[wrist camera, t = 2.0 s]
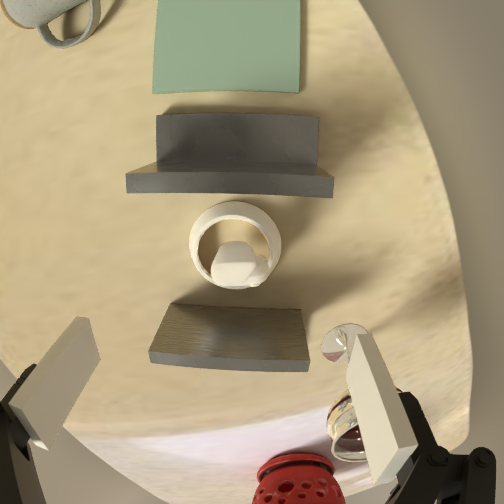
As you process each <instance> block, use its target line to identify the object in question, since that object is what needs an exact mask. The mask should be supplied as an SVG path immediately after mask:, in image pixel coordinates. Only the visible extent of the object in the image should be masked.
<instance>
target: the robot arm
mask: <svg viewBox="0 0 504 504" xmlns="http://www.w3.org/2000/svg"><path fill="white" fill-rule="evenodd" d="M100 360H101V359H100V356H99V353H98V349H97V346H96V342H95V339H94V335H93V332H92V328H91V324H90V320H89V318H84V317H78V316H77V317H76V318H75V319H74V320H73V322H72V323H71V324H70V325H69V326H68V328H67V329H66V330H65V331H64V332H63V333H62V335H61V336H60V337H59V338H58V340H57V341H56V342H55V343H54V344H53V346H52V347H51V348H50V349H49V351H48V352H47V353H46V354H45V356H44V357H43V358H42V359H41V361H40V362H39V363H38V365H37V364H32V365H31V366H30V367H28V368H27V369H25V371H24V372H23V373H22V374H21V376H20V378H18V380H17V381H16V384H14V385H13V386H12V387H11V389H10V390H9V391H8V393H7V394H6V395H5V397H4V398H3V399H2V401H1V402H0V504H46V501H45V498H44V495H43V492H42V489H41V486H40V483H39V479H38V476H37V472H36V468H35V465H34V461H33V457H32V453H31V448H30V446H29V444H28V440H29V439H30V438H31V439H32V441H33V442H34V443H35V445H37V446H39V447H41V448H44V449H46V450H49V449H50V447H51V445H52V444H53V442H54V440H55V438H56V436H57V434H58V432H59V430H60V429H61V427H62V425H63V423H64V421H65V420H66V418H67V416H68V414H69V412H70V411H71V409H72V407H73V405H74V404H75V402H76V400H77V398H78V397H79V395H80V393H81V392H82V390H83V388H84V386H85V385H86V383H87V381H88V380H89V378H90V376H91V375H92V373H93V371H94V370H95V368H96V366H97V365H98V363H99V361H100ZM346 380H347V384H348V387H349V391H350V394H351V398H352V402H353V405H354V409H355V413H356V417H357V420H358V424H359V428H360V432H361V436H362V440H363V444H364V448H365V452H366V456H367V460H368V465H369V469H370V473H371V477H372V482H373V485H377V484H383V483H389V482H391V481H392V480H393V479H394V478H395V476H396V475H397V479H398V484H397V485H396V487H395V488H394V489H393V490H392V491H391V492H390V494H391V495H390V497H389V498H388V500H387V502H386V503H385V504H434V503H435V500H436V499H437V504H495V489H496V459H495V456H494V454H493V452H492V451H490V450H489V449H487V448H484V447H478V448H476V449H474V450H473V451H472V452H471V453H470V455H455V454H454V455H453V454H450V453H449V452H448V451H447V449H445V448H443V447H441V446H438V445H437V443H436V441H435V438H434V436H433V433H432V431H431V429H430V427H429V424H428V422H427V420H426V418H425V415H424V413H423V411H422V410H421V409H422V408H421V406H420V404H419V402H418V400H417V399H416V398H415V397H414V396H413V395H412V394H411V393H410V392H402V393H398V392H397V390H396V388H395V385H394V383H393V381H392V378H391V376H390V374H389V371H388V369H387V367H386V365H385V362H384V360H383V358H382V356H381V353H380V351H379V349H378V347H377V345H376V342H375V340H374V338H373V336H372V334H357V335H356V339H355V343H354V347H353V351H352V354H351V358H350V362H349V366H348V369H347V373H346Z"/></svg>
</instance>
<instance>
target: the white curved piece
mask: <svg viewBox="0 0 504 504" xmlns="http://www.w3.org/2000/svg"><path fill="white" fill-rule="evenodd" d="M226 219H239V220H244V221H246V222H249V223H251V224H252V225H254V226H255V227H257V228H258V229H259V230H260V231H261V232H262V233H263V235H264V236H265V238H266V240H267V243H268V246H269V260H268V262H267V260H266V259H265V257H263V256H260V255H255V253H254V251H253V249H252V248H251V246H250V245H249V244H247V243H245V242H241V241H233V242H227V243H224V244H223V245H221V246H220V248H219V250H218V252H217V254H216V256H215V259H214V261H213V263H212V266H211V274H209V273H208V272H207V271H206V269H205V268H204V267H203V266H202V263H201V261H200V259H199V256H198V246H199V241H200V239H201V237H202V235H203V234H204V232H205V231H206V230H207V229H208V228H209V227H210V226H211V225H213V224H214V223H216V222H219V221H221V220H226ZM189 247H190V253H191V257H192V260H193V262H194V264H195V266H196V268H197V269H198V271H199V272H200V273H201V275H202V276H204V277H205V278H206V279H207V280H208V281H210V282H211V283H213V284H215V285H217V286H220V287H222V288H227V289H245V288H249V287H256V286H259V285H260V283H262V282H264V281H265V280H266V279H267V278H268V276H269V275H270V273H271V272H272V271H273V270H274V268H275V267H276V265H277V263H278V261H279V258H280V254H281V237H280V233H279V231H278V228H277V226H276V225H275V223H274V222H273V220H272V219H271V218H270V217H269V216H268V215H267V214H266V213H265V212H264V211H263V210H261V209H260V208H258V207H256V206H254V205H251V204H249V203H244V202H240V201H229V202H224V203H219V204H217V205H214V206H212V207H210V208H209V209H207V210H206V211H204V212H203V213H202V214H201V215H200V216H199V217H198V219H197V220H196V222H195V223H194V225H193V228H192V230H191V233H190V239H189Z"/></svg>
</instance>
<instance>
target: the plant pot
mask: <svg viewBox="0 0 504 504" xmlns="http://www.w3.org/2000/svg"><path fill="white" fill-rule="evenodd" d="M333 474H334V466H333V464H332V463H331V462H330V461H329V460H327V459H326V458H324V457H321V456H318V455H314V454H289V455H284V456H280V457H277V458H274V459H272V460H270V461H268V462H267V463H265V464H264V465H263V466H262V467H261V468H260V469H259V471H258V473H257V480H258V482H259V483H260V484H259V486H258V488H257V490H256V492H255V495H254V498H253V502H252V504H345V499H344V496H343V494H342V491H341V488H340V486H339V484H338V483H337V481H336V480H335V478H334V477H333Z"/></svg>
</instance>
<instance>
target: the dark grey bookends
mask: <svg viewBox="0 0 504 504" xmlns="http://www.w3.org/2000/svg"><path fill="white" fill-rule="evenodd" d="M318 130H319V117H311V116H298V115H282V114H259V113H193V114H171V115H156V147H157V162H154V163H152V164H149V165H146V166H144V167H141V168H139V169H136V170H133V171H131V172H128V173H126V188H127V193H230V194H263V195H287V196H306V197H323V198H333V187H334V177H333V176H332V175H330V174H329V173H327V172H326V171H325V170H323V169H322V168H320V167H319V166H318V165H317V149H318ZM148 352H149V357H150V362H151V363H156V364H165V365H174V366H184V367H195V368H207V369H221V370H238V371H264V372H308V369H309V364H310V357H309V351H308V346H307V340H306V335H305V329H304V324H303V319H302V313H301V310H298V309H261V308H236V307H216V306H198V305H182V304H170V305H169V307H168V309H167V312H166V314H165V316H164V318H163V320H162V322H161V324H160V327H159V329H158V331H157V333H156V335H155V337H154V340H153V342H152V344H151V346H150V349H149V351H148Z"/></svg>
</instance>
